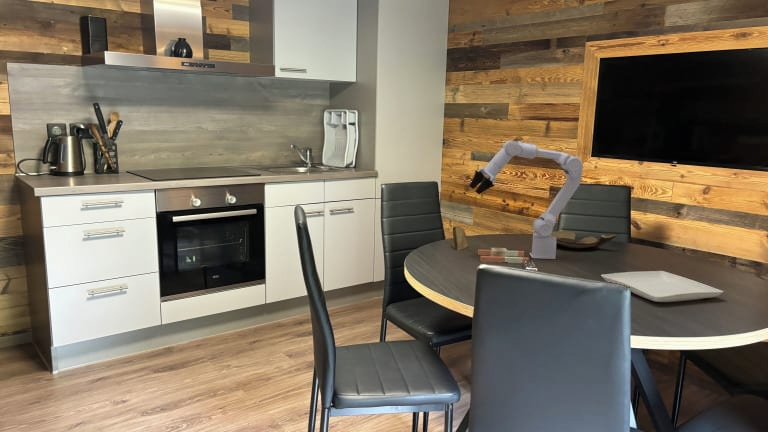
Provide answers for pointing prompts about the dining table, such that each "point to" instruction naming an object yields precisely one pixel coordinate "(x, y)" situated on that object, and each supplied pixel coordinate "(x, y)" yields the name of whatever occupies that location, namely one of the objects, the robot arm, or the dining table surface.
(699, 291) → the square plate
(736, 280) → the dining table surface
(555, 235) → the dark brown bowl
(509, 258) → the pink-beige flat slab
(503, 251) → the maple block
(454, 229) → the rock
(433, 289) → the dining table surface
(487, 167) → the robot arm
